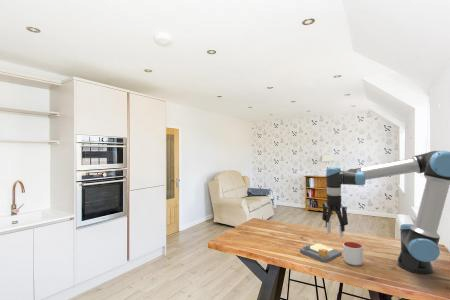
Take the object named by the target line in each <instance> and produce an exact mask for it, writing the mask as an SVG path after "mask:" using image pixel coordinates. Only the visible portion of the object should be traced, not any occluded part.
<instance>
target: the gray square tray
mask: <svg viewBox="0 0 450 300" xmlns="http://www.w3.org/2000/svg"><path fill="white" fill-rule="evenodd" d="M302 247H303V248H301V249H299V253H300V254H302V255H304V256H307V257H308V258H309V257H310V258H312V259H314V260H318V261H319V262H321V263H324V264H327V263H329V262H330V261H333V260H335V259H337V258H339V257H341V256H342V254H343V253H342V252H343V251H340V250H337V249H334V248H332V247H329V246H327V245H324V244H321V243H314V244H306V245H303V246H302ZM320 248H323V249H326V250H328V257H327V258H324V257H322V256H320V255H319V249H320Z"/></svg>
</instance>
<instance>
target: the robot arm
mask: <svg viewBox="0 0 450 300" xmlns="http://www.w3.org/2000/svg"><path fill="white" fill-rule="evenodd" d="M325 172H326V173H325V174H326V175H325V177H326V182H325V183H326V201H327V202H323V203H322V204H321V205H322V217H321V218H322V219H321V220H322V221H324V222H325V228H326V234H332V226H331V223H332V221H330V220H331V217H332V215H333V212H335V214H336V216H337V219H338V222H339V224H340V225H338V230H339V231H338V235H339V238H344V232H345V230H346V229H345V227H346V226H348V225H349V220H348V213H347V210H348V207H347V206H344V205H342V185H349V186H350V185H351V186H365V185H366V180H367V181H368V180H375V179H381V178H386V177H393V176H398V175H404V174H405V175H406V174H411V173H412V174H413V173H417V174H423V177H424V178H425V179H426V181H425V185H424V189H423V193H422V195H421V196H422V197H421V200H420V204H419V208H418V211H417V216H416V219H415V224H413V223H411V224H410V223H403V224H401V225H400V229H399V231H400V251H399V255H398V258H397V266H399V267H400V268H401V269H403V270H405V271H408V272H410V273H414V274H419V275H420V274H422V275H429V274H432V273H433V270H434V269H433V268H434V267H433V265H432V262H433V261H435V260H437V259H438V258H439V257H440V255H441V252H440V247H439V242H440V239H441V236H440V235H439V233H438V231H439V230H438V229H439V227H440V222H441V219H442V214H443V210H444V207H445V204H446V200H447V196H448V193H449V189H450V150H432V151H428V152H425V153H421V154H417V155H413V156H411V158H407V159H402V160H397V161H396V160H395V161H390V162H384V163H380V164H379V163H378V164H373V165H367V166H364V167H362V166H361V167H358V168H349V169H348V170H341V168H340V167H337V166H336V167H335V166H334V167H333V166H332V167H331V166H330V167H327V168H326V171H325Z"/></svg>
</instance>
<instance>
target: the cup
mask: <svg viewBox="0 0 450 300" xmlns="http://www.w3.org/2000/svg"><path fill="white" fill-rule="evenodd" d="M342 247H343V251H342V252H343V253H342V254H343V256H342V257H343V261H344V262H345V263H346V264H348V265H351V266H361V265H363V263H364V248H363V245H362V244H361V243H358V242H353V241H346V242H343V244H342Z"/></svg>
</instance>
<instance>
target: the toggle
mask: <svg viewBox="0 0 450 300" xmlns="http://www.w3.org/2000/svg"><path fill="white" fill-rule="evenodd" d="M319 255H320V256H322V257H324V258H327V257H328V250H326V249H323V248H320V249H319Z"/></svg>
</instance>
